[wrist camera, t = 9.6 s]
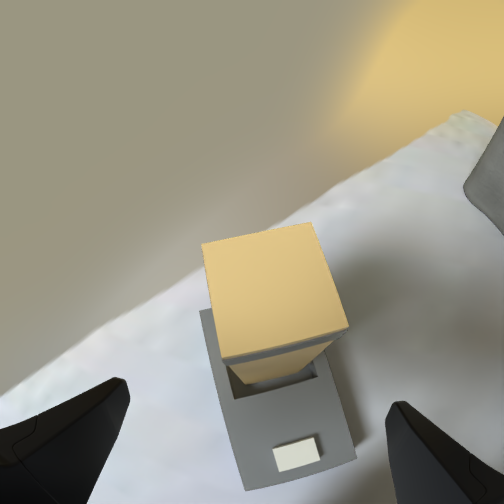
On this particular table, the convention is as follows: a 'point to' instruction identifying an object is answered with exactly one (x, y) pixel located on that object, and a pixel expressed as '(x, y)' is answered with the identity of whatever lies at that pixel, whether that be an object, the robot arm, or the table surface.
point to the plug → (272, 301)
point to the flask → (489, 180)
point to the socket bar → (280, 419)
